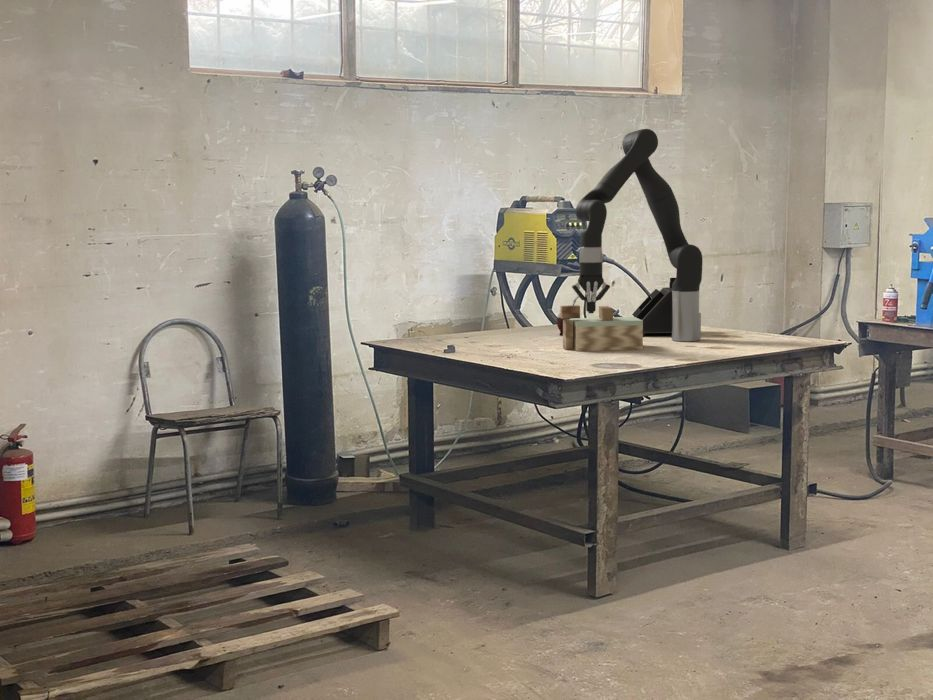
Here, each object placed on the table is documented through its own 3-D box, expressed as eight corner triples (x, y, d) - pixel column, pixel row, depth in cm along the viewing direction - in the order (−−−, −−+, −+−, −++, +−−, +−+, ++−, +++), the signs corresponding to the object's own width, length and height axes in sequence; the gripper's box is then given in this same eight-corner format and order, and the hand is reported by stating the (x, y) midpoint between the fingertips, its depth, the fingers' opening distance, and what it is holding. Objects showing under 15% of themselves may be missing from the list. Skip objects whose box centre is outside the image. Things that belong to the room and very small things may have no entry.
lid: (634, 321, 383) (634, 304, 382) (642, 325, 371) (642, 308, 371) (569, 322, 381) (569, 306, 380) (576, 326, 369) (576, 310, 369)
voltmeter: (631, 331, 421) (631, 277, 418) (675, 331, 420) (676, 277, 418) (636, 337, 405) (636, 281, 402) (682, 336, 404) (682, 280, 402)
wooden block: (578, 317, 377) (578, 305, 376) (580, 318, 374) (580, 306, 373) (560, 317, 376) (560, 305, 375) (562, 318, 373) (562, 306, 373)
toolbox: (633, 344, 384) (634, 316, 383) (642, 349, 372) (642, 320, 371) (561, 346, 382) (561, 318, 381) (567, 351, 370) (567, 322, 369)
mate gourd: (552, 334, 414) (552, 294, 412) (567, 333, 419) (567, 292, 417) (567, 336, 408) (567, 295, 406) (582, 334, 413) (582, 293, 411)
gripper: (608, 259, 377) (607, 311, 380) (569, 260, 376) (569, 312, 378) (613, 261, 370) (612, 313, 372) (573, 261, 369) (573, 314, 371)
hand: (590, 313), depth 375 cm, fingers closed
